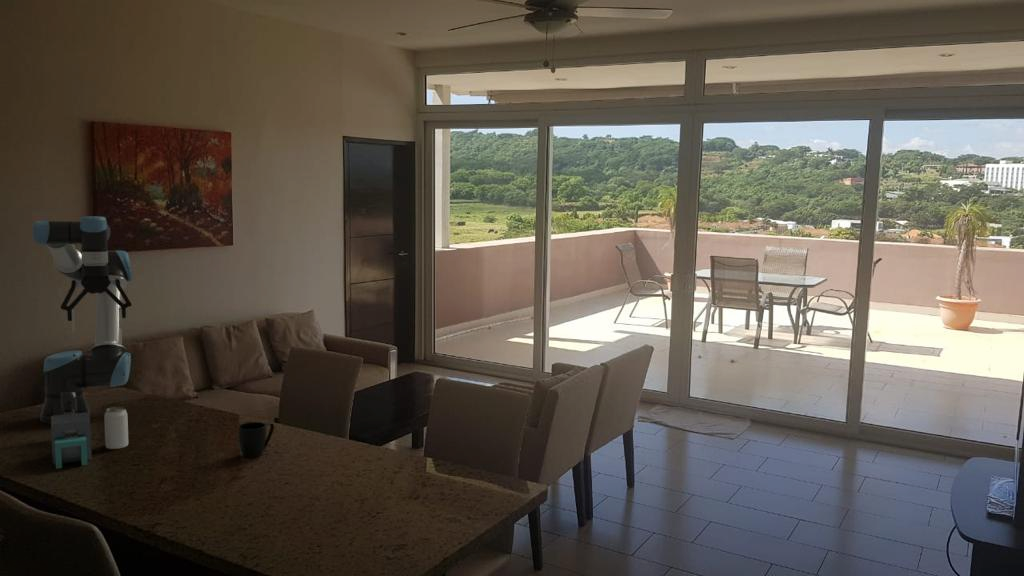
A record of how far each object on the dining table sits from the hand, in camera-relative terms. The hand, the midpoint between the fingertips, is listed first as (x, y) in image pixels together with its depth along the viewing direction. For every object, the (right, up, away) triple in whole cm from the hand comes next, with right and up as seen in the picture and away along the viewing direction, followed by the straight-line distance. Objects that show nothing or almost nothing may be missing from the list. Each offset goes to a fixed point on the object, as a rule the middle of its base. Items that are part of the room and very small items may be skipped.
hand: (97, 329), depth 255 cm
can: (+11, -36, -9) cm, 39 cm away
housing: (+3, -37, -19) cm, 42 cm away
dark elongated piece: (-3, -30, -11) cm, 32 cm away
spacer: (+6, -38, -26) cm, 46 cm away
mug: (+56, -38, -13) cm, 69 cm away
